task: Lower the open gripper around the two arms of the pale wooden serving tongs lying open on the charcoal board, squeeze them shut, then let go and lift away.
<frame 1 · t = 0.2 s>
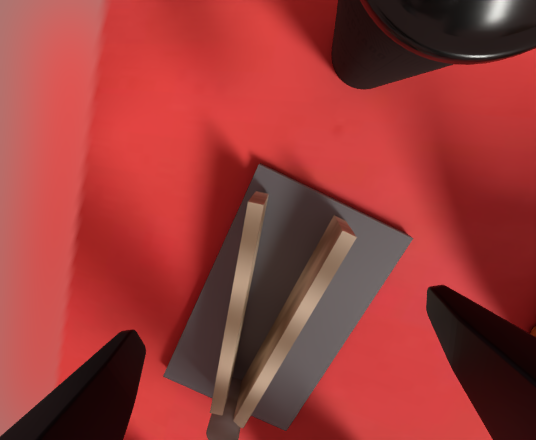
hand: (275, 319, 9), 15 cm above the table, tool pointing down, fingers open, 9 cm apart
serving board: (275, 308, 26), on the table
tongs arm: (238, 305, 22), point 3 cm above the table, hinge at 14.0°
drinking cup: (365, 52, 20), on the table
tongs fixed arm: (233, 389, 27), resting on serving board
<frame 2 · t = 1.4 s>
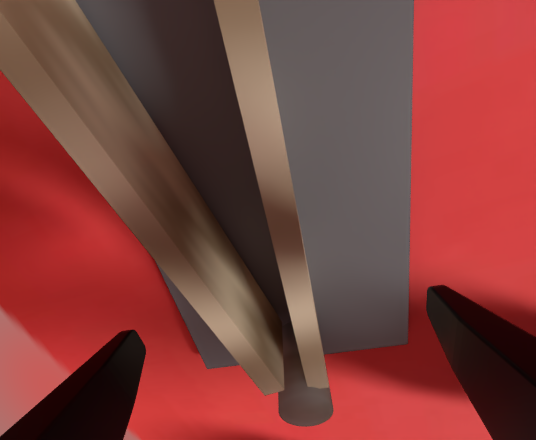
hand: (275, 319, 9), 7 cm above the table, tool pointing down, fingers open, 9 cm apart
serving board: (268, 196, 15), on the table
tongs arm: (181, 224, 12), point 3 cm above the table, hinge at 14.0°
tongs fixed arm: (298, 335, 18), resting on serving board
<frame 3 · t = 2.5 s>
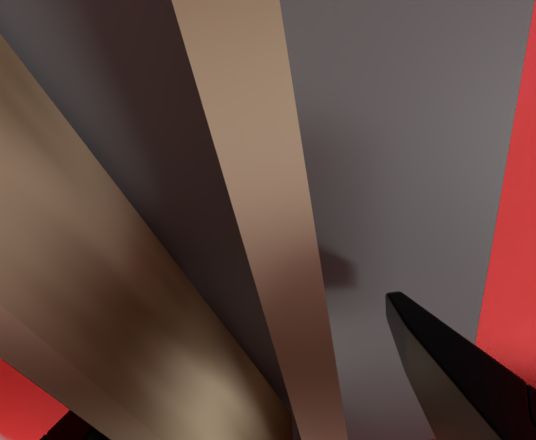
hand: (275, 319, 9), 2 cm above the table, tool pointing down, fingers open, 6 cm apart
serving board: (274, 254, 10), on the table
tongs arm: (137, 321, 7), point 3 cm above the table, hinge at 13.9°, touching gripper
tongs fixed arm: (313, 426, 13), resting on serving board
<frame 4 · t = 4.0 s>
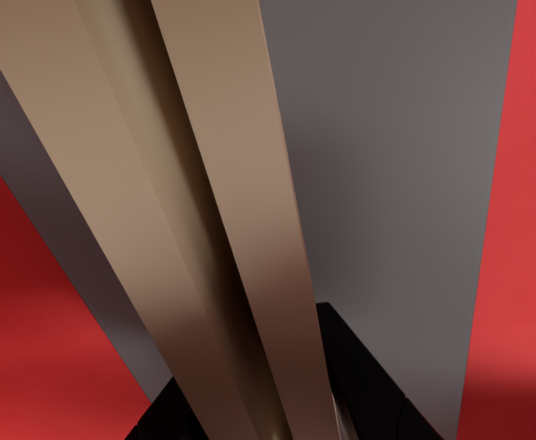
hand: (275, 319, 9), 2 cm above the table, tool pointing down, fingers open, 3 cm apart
serving board: (271, 263, 10), on the table
tongs arm: (224, 303, 7), point 3 cm above the table, hinge at 0.0°, touching gripper
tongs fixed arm: (311, 432, 13), resting on serving board
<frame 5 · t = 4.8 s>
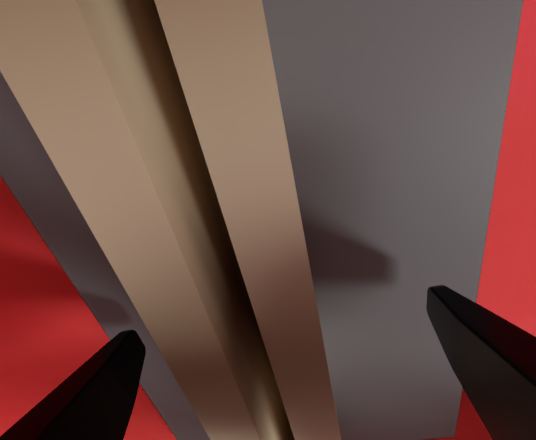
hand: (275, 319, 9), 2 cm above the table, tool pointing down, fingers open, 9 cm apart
serving board: (270, 255, 10), on the table
tongs arm: (222, 294, 7), point 3 cm above the table, hinge at 0.0°
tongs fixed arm: (310, 426, 13), resting on serving board
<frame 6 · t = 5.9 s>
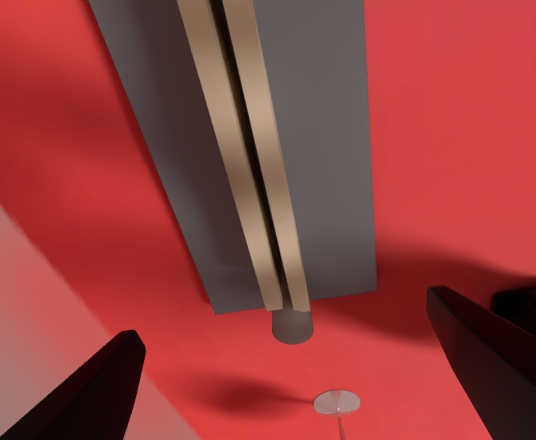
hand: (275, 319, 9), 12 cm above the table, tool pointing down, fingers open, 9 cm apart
serving board: (264, 167, 19), on the table
tongs arm: (242, 165, 15), point 3 cm above the table, hinge at 0.0°
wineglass: (336, 402, 31), on the table
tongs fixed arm: (289, 283, 22), resting on serving board
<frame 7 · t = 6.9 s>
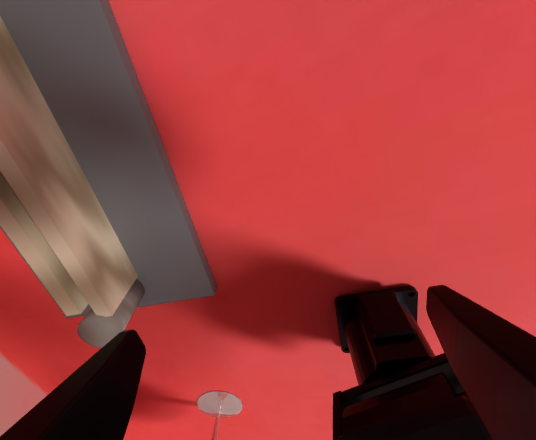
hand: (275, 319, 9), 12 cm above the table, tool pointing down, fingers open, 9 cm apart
serving board: (77, 177, 20), on the table
tongs arm: (16, 176, 16), point 3 cm above the table, hinge at 0.0°
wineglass: (220, 403, 32), on the table
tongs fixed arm: (128, 288, 23), resting on serving board
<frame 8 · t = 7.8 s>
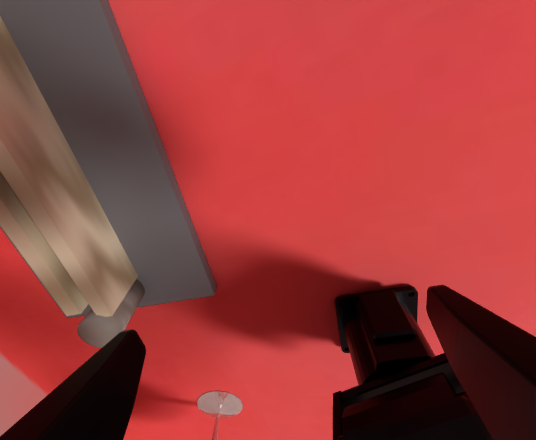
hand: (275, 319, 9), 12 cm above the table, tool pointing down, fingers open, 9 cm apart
serving board: (77, 177, 20), on the table
tongs arm: (16, 176, 16), point 3 cm above the table, hinge at 0.0°
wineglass: (220, 403, 32), on the table
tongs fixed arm: (128, 288, 23), resting on serving board
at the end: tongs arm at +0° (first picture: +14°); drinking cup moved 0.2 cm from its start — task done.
